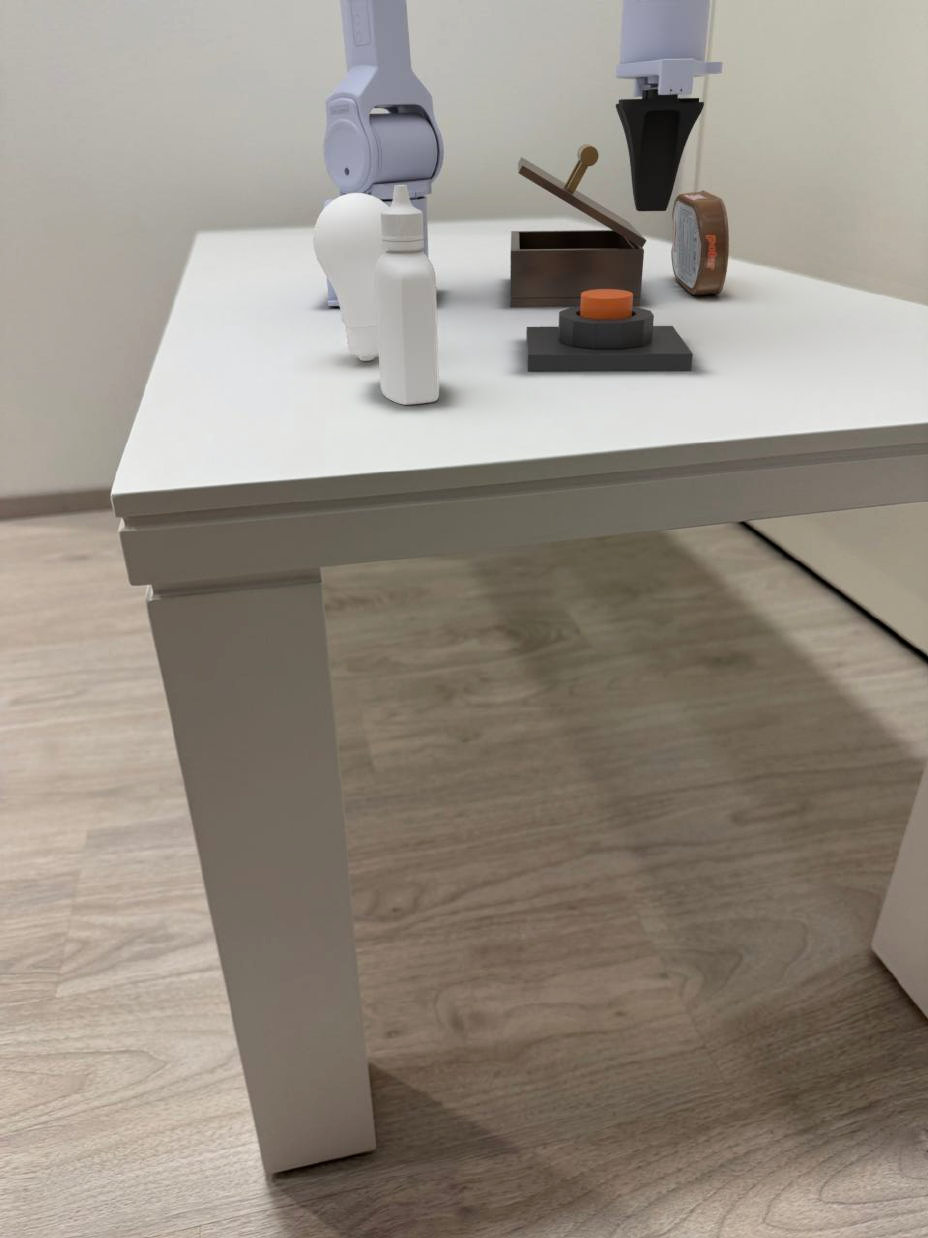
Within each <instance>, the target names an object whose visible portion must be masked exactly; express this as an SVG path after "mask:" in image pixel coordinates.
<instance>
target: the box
mask: <svg viewBox="0 0 928 1238" xmlns="http://www.w3.org/2000/svg"><path fill="white" fill-rule="evenodd" d="M644 256H645V249H644V247H643V248H641V247H640V246H638V245H636V244H635V243H633V242H632V241H630V240H628V239H627V238H625V237H623V236H622V235H620V234H618V233H617V232H615V231H613V230H612V229H581V230H580V229H579V230H577V229H576V230H575V229H574V230H572V229H571V230H570V229H569V230H567V229H566V230H512V231H511V232H510V266H509V267H510V273H509V274H510V276H509V277H510V280H509V281H510V282H509V283H510V284H509V286H510V287H509V289H510V290H509V291H510V292H509V296H510V297H509V306H510V308H570V307H577V306H581V293H582V292H585V291H588V290H596V289H616V290H624V291H629V292H631V293H633V303H632V306H634V307H640V306H641V297H642V287H643V286H642V284H643V272H644V271H643V270H644Z"/></svg>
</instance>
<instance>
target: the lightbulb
mask: <svg viewBox="0 0 928 1238" xmlns="http://www.w3.org/2000/svg"><path fill="white" fill-rule="evenodd" d="M334 199H335V200H333V201H331V202H330V203H329V204H328V205H327V206H326V207H325V208H324V207H323V208H324V209H322V210H321V212H320V213H319V216H318V217H317V220H316V221H315V225H314V229H313V237H312V241H313V250H314V254H315V256H316V260H317V261H318V264H319V265H320V266H319V267H321V269H322V271H323V273H324V275H325V277H326V279H327V278H328V280H329V281H330V283H331V284H332V286H333V289H334V291H335V293H336V296H337V298H338V302H339V306H338V307H339V310H340V317H341V321H342V323H343V324H344V326H345V333H346V340H347V342H346V343H347V347H348V351H349V353H350V354H351V355H353V356H356V357H357V358H358V359H359V360H360V361H363V362H369V361H374V359H375V358H376V356H378V355H379V351H378V334H377V316H376V299H375V280H374V270H375V265H376V263H377V261H378V259H379V258H380V257H381V256H382V255H383V253H384V252H385V251H387V249H383V245H382V227H381V213H382V212H383V211H384V210H386V209H388V208H389V206H388V205H386V204H385V203H384V202H382V201H381V200H380V199H378V198H376V197H374V196H371V195H368V194H364V193H350V194H346V195H343V196H340V195H339V196H338V197H336V198H334Z"/></svg>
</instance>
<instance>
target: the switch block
mask: <svg viewBox="0 0 928 1238" xmlns="http://www.w3.org/2000/svg"><path fill="white" fill-rule="evenodd" d="M654 317H655V315H654V313H653V312H652V311H651V310H650V309H646V308H642V307H639V306H632V317H629V318H622V319H592V318H585V317H581V316H580V306H577V307H567V308H565V309H562V310H560V311H559V312H558V326H526V333H525V335H526V337H525V339H526V340H525V343H526V345H525V347H526V363H527V364H526V366H527V367H526V368H527V372H528V373H559V372H560V373H561V372H562V373H564V372H567V373H568V372H569V373H571V372H575V373H577V372H578V373H579V372H582V373H583V372H585V373H586V372H589V373H591V372H691V371H692V367H693V365H692V364H693V356H694V353H693V352H692V351H691V349H690V348H689V347H688V345H687V344H686V342H685V341H684V340H683V338H682V337H681V336H680V334H679V332H677V330H676V328H675V327H674V326H673V325H654V319H655V318H654Z"/></svg>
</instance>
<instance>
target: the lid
mask: <svg viewBox="0 0 928 1238" xmlns="http://www.w3.org/2000/svg"><path fill="white" fill-rule="evenodd" d="M599 156H600V155H599V150H598V149H597V148H596V147H595V146H593V145H591V144H588V143H585V144H582V145H580V146H579V147H578V149H577V152H576V157H577V162H576V163H575V165H574V167H573V169H572V171H571V172H570V175H569V176H568V178H567V180H566V182H564V181H562V180H561V179H559V178H557V177H556V176H554V175H552V174H550V173H549V172H547V171H546V170H544V169H542V168H540V167H539V166H537V165H536V164H534V163H533V162H531V161H529V160H528V159H526V158H524V157H523V156H521V157H520V158H519V161H518V163H517V170H518V172H517V173H518V175H520V176H522V177H524V178H525V179H527V180H528V181H530V182H532V183H534V184H535V185H537V186H539V187H540V188H541V189H544V190H545V191H547V192H549V193H550V194H552V195H554V196H555V197H557V198H559V199H560V200H562V201H564V202H565V203H567V204H568V205H570V206H571V207H573V208H575V209H577V210H578V211H580V212H582V213H584V214H585V215H587V217H590V218H591V219H593V220H595V221H597V222H598V223H600V224H601V225H603V226H605V227H607V228H608V229H609V230H613V231H615V232H617V233H618V234H620V235H622V236H623V237H625V238H627V239H628V240H630V241H632V242H633V243H635V244H636V245H638V246H640V247H641V248H643V249H644V246H645V245H646V243H647V241H648V240H647V239H646V238H645V237H644V236H643V235H642V233H640V232H639V231H638V230H637V229H636V228H635V227H634V226H633V225H632V224H631V223H630V222H629V221H628V220H626V219H624V217H621V216H619V215H618V214H616V213H615V212H613V211H611V210H610V209H608V208H607V207H605V206H603V205H602V204H600V203H598V202H596V201H595V200H593V199H592V198H590V197H588V196H587V195H585V194H584V193H582V192H580V191H579V190H577V188H578V186H579V184H580V183H581V181H582V179H583V177H584V175H585V173H586V171H587V170H588V168H589V167H593V166H595V165H596V163H597V162H598V159H599V158H600V157H599Z"/></svg>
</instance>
